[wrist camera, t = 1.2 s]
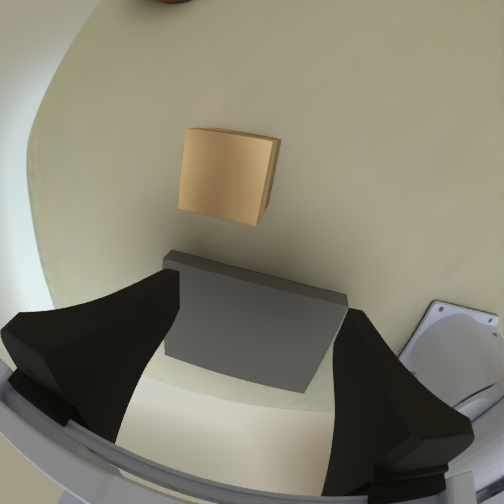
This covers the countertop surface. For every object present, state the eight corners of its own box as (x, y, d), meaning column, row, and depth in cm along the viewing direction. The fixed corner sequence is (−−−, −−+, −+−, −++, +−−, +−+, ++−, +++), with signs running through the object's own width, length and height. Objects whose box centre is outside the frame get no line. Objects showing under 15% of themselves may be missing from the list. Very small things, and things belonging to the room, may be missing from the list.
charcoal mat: (346, 294, 20) (348, 306, 19) (304, 382, 25) (303, 393, 24) (171, 250, 21) (163, 258, 20) (171, 345, 26) (165, 354, 25)
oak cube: (281, 139, 16) (272, 141, 12) (268, 204, 18) (256, 226, 14) (214, 127, 17) (186, 128, 13) (205, 190, 19) (177, 208, 15)
